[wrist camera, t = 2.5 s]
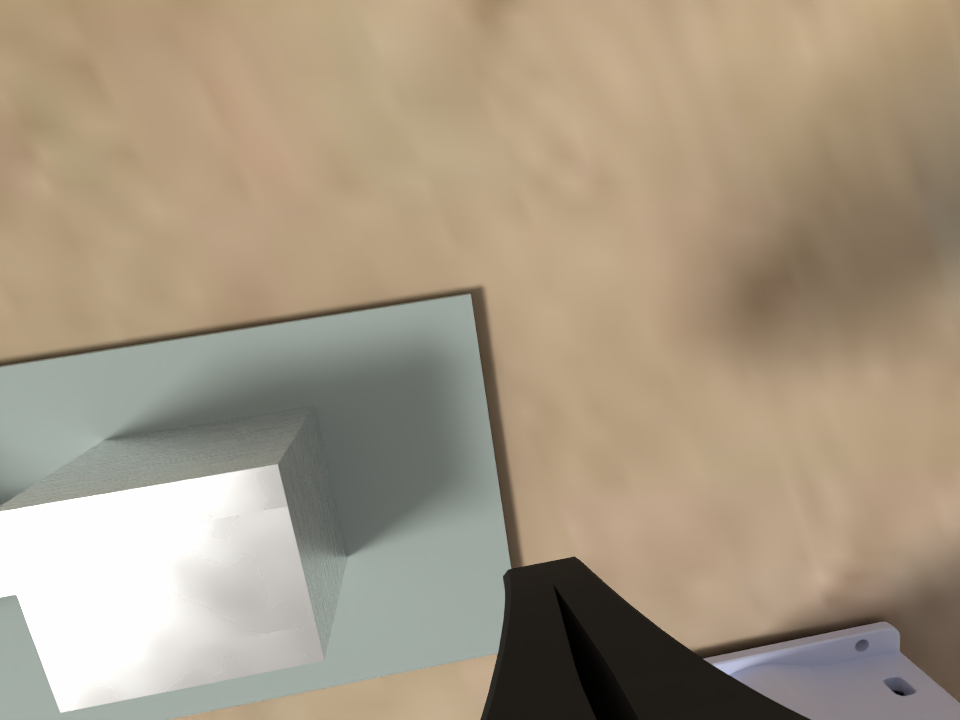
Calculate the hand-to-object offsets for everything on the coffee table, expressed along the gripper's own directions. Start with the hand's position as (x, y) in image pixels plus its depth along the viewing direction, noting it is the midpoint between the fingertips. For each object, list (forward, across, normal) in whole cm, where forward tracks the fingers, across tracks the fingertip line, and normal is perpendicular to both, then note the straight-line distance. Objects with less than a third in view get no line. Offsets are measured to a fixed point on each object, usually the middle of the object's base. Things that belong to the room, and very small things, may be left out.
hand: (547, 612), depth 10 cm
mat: (+8, +11, +1) cm, 14 cm away
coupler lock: (+8, +8, 0) cm, 11 cm away
